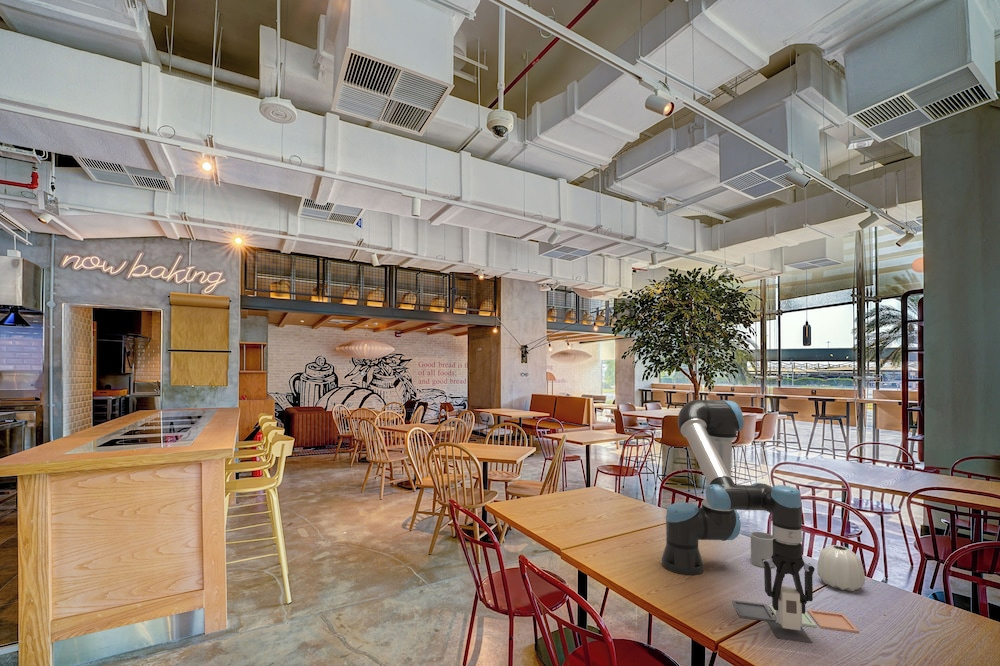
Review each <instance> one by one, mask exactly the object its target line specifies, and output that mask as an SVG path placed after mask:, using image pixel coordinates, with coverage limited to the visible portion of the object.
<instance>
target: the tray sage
mask: <svg viewBox="0 0 1000 666" xmlns="http://www.w3.org/2000/svg"><path fill="white" fill-rule="evenodd" d="M768 608H769V610H770V611H771V613H772V615H773V616H774V618H776V610H774V608H773V606H772V604H768ZM817 626H818V624H817V623H816V622H815V621H814V619H813V618H812V617H811V616H810V614H809V613H808V612H807V611H806V610H805V614H803V613H802V627H806V628H816V629H817V628H818V627H817Z"/></svg>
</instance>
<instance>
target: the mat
mask: <svg viewBox="0 0 1000 666" xmlns="http://www.w3.org/2000/svg"><path fill="white" fill-rule="evenodd" d="M766 622H767V624H768V626H769V627H770V629H771V631H772V632H773V634H774V636H775V637H776V639H780V640H786V641H793V642H801V643H809V644H813V641H812V640H811V637H810V636H809V635H808V634H807V632H806V631H805V630H804V628H803V626H802V627H801V630H794V629H787V628H783V627H782V625H781V624H779V623H778V621H776V622H770V621H766Z"/></svg>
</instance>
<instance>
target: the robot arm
mask: <svg viewBox="0 0 1000 666" xmlns="http://www.w3.org/2000/svg"><path fill="white" fill-rule="evenodd" d="M744 423H745V419H744V415H743V411H742V409H741V407H740V406H739V405H738V403H737V402H735V401H733V400H725V399H694V400H690V401H688V402H686V404H684V405H683V406H682V407H681V408H680V411H679V412H678V417H677V426H678V429H679V431H680V434H681V436H683V438H686V440H687V442H688V444H689V446H690V448H691V451H692V452H693V454H694V457H695V459H696V461H697V463H698V466H699V468H700V469H701V471H702V474H703V475H704V478H705V481H706V485H705V487H706V489H705V498H704V499H703V500H702V501H701V507H698V505H697V504H696V503H692V502H683V501H682V502H676V503H675V502H674V503H672V504H670V505H668V507H667V508H666V513H665V520H666V521H665V523H666V524H665V527H666V528H665V529H666V530H665V531H666V532H665V533H666V535H665V536H666V537H665V538H666V539H665V541H666V543H665V547H664V549H663V553H662V556H661V565H662V567H663V568H664V569H667V570H668V571H670V572H673V573H675V574H680V575H686V576H687V575H688V576H689V575H692V576H694V575H699V574H701V573H704V562H703V559H702V555H701V552H700V549H699V541H722V542H725V541H733V540H735V539H736V538H738V536H739V535H740V532H741V524H742V521H741V519H740V518H741V516H740V514H739V511H765V512H767V513H769V514H770V515H771V520H772V522H771V523H772V524H771V526H772V527H771V528H772V530H771V531H772V534H771V535H772V536H773V538H774V539H773V555H772V557H771V559H767V560H765V559H762V563H763V565H764V568H763V570H764V571H763V572H764V592H765V593H766V596H768V597H769V598H771V600H772V601H771V603H772V604H771V605H772V606H773V608H774V610H776V617H775V620H776V622H777V623H779V624H782V601H781V599H780V598H779V595H780V590H781V586H783V582H784V579H785V576H786V575H788V574H789V575H791V576H792V580H793V582H794V588H795V589H796V590H797V591H798V593H799V594H800V625H801V627H802V628H803V626H802V613H803V614H805V611H806V605H807V604H808V603H807V602H813V597H814V594H813V593H814V592H813V588H814V587H813V584H814V583H813V574H814V572H815V567H814V565H812V564H811V563H810V562H809V563H808V562H806V561H804V558H803V544H802V542H803V532H802V530H803V528H802V527H803V526H802V525H803V524H802V523H803V521H802V520H803V519H802V517H803V516H802V513H803V511H802V508H803V507H802V506H803V504H802V497H801V494H802V493H801V491H800V490H799V489H798V488H796V487H793V486H790V485H784V484H783V485H781V484H780V485H779V484H777V485H774V486H771V485H769V484H766V483H763V482H754V483H752V484H751V485H749V484H747V485H746V484H745V485H744V484H735V482H734V480H733V479H732V449H733V440H735V439H736V438H737V432H740V431H742V429H743V428H744ZM773 563H774V564H775V567H776V570H775V578H774V581H773V585H772V568H771V567H772V564H773ZM802 568H803V570H804V589H803V585H802V582H801V577H800V573H799V572H800V571H801V570H802Z"/></svg>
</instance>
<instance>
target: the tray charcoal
mask: <svg viewBox="0 0 1000 666" xmlns="http://www.w3.org/2000/svg"><path fill="white" fill-rule="evenodd" d="M731 603H732V605H733V607H734V609H735V611H736V613H737V615H738V616H739V618H740V619H747V620H753V621H754V620H755V621H763V622H767V621H770V622H777V619H776V617H775V616H774V614H773V612H772V611H771V609H770V608H769V606H767V604H765V603H759V602H751V601H742V600H736V599H735V600H734V599H732V600H731Z"/></svg>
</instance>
